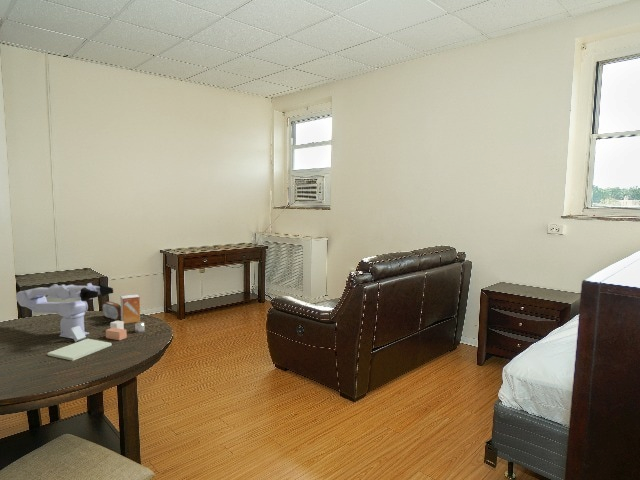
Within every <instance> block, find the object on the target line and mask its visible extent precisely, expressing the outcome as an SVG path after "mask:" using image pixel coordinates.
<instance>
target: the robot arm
mask: <svg viewBox="0 0 640 480" xmlns="http://www.w3.org/2000/svg"><path fill="white" fill-rule="evenodd" d="M113 293H114V288H113V287H110V286H108V285H106V283H99V286H98V285H93V283H92V282H89V283H86V285H75V284H68V285H66V284H61V285H58V284H56V283H54V284H52V285H50V286H49V287H42V286H41V287H40V286H39V287H35V288H30V289H27V290H26V289H25V290H20V291H18V292H17V293H16V296H15V298H16V302H17V303H18V305H19V306H20V307H23V308H24V307H25V308H27V309H29V310H30V311H32V312H34V313H37V314H39V313H41V314H58V316H61V319H60V322H59V323H60V324H59V325H60V334H59V335H58V336H59V337H61V338H62V337H63V338H67V339H72V340H74V339H73V337H72V335H71V334H70V332H69V330H70V329H71V328H73V327H76V326H80V327H81V329H82V331H83V333H84V334H85V336H87V335H89V334H90V332H87V331H85V318H84V317H85V315H86V313H87V311H88V310H89V305H88V302H87V301H88V300H93V299H95V298H98V297H99V295H100V294H101V297H102V298H103V297H106V296H107V295H110V294H113ZM46 296H48V297H49V298H51V299H61V300H62V301H65V300H67V299H79V300H76V301H69V302H68V301H67V302H62V301H54V302H53V301H48V299H47V297H46Z"/></svg>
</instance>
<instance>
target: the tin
mask: <svg viewBox="0 0 640 480" xmlns="http://www.w3.org/2000/svg"><path fill="white" fill-rule="evenodd" d="M101 308H102V314H103V315H104V316H105V318H108V319H110V318H111V319H110V320H113V319H114V320H113V321H120V320H121V304H119V303H118V302H117V303H116V302H114V301H111V300H110V301H105V302H104V303H102V306H101Z"/></svg>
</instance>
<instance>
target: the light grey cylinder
mask: <svg viewBox="0 0 640 480" xmlns="http://www.w3.org/2000/svg"><path fill="white" fill-rule="evenodd" d="M134 325H135V326H134V328H135V333H136V334H137V333H144V332H145V331H146V329H145V327H146V324H145V321H140V322H134Z"/></svg>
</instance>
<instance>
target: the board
mask: <svg viewBox="0 0 640 480" xmlns="http://www.w3.org/2000/svg"><path fill="white" fill-rule="evenodd" d="M111 346H112V342H108V341H102V340H97V339H91V338H84V339H83V340H80V341H77V342H74V343H71V344H69V345H66V346H62V347H60V348H56V349H55V350H51V351H49V352H47V356H49V357H54V358H59V359H65V360H68V361H72V362H74V361H76V360H78V359H81V358H83V357H86V356H88V355H92V354H94V353H96V352H99V351H101V350H103V349H106V348H109V347H111Z"/></svg>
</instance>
